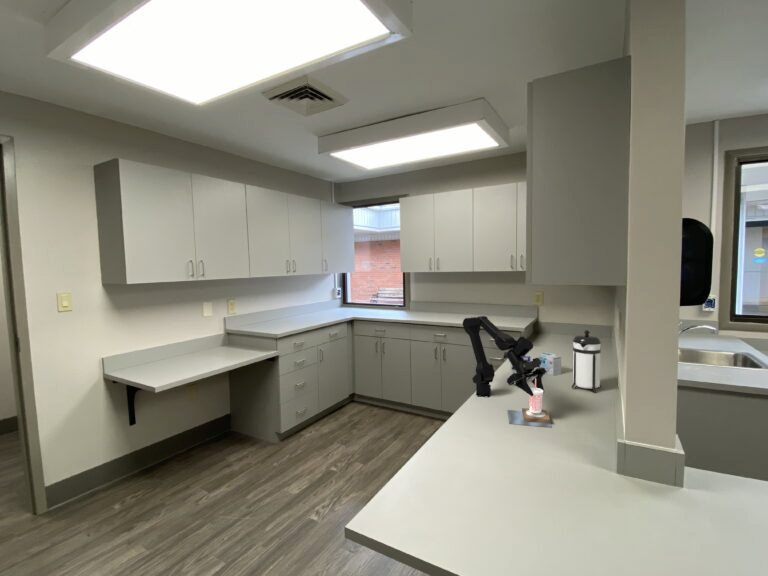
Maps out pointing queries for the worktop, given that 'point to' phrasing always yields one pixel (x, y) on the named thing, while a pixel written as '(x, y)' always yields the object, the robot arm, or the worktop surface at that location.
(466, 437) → the worktop surface
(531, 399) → the beverage cup
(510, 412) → the blueprint plinth
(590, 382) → the coffee press
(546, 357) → the light bulb box
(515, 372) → the ink cartridge box
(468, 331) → the robot arm
